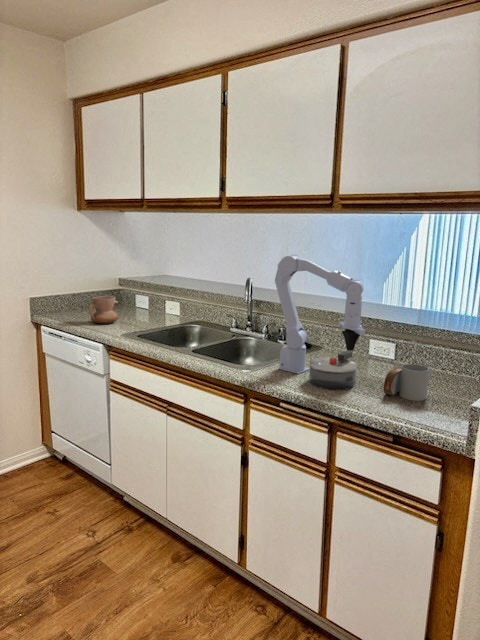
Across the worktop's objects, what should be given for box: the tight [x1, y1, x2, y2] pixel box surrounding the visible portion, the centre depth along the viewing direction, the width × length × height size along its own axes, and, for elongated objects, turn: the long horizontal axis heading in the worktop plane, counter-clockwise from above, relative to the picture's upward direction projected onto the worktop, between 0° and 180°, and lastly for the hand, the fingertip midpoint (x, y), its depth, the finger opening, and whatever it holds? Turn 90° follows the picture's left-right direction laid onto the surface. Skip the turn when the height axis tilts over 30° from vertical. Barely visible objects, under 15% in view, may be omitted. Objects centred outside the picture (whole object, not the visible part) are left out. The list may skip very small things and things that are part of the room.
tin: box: [383, 365, 402, 396], centre depth 165 cm, size 15×3×8 cm, turn 141°
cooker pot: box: [308, 360, 357, 391], centre depth 176 cm, size 16×21×6 cm
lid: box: [309, 350, 358, 373], centre depth 175 cm, size 21×16×3 cm
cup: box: [399, 363, 430, 402], centre depth 161 cm, size 8×8×10 cm
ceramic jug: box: [88, 295, 119, 325], centre depth 265 cm, size 18×14×14 cm
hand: (350, 350), depth 180 cm, fingers closed
